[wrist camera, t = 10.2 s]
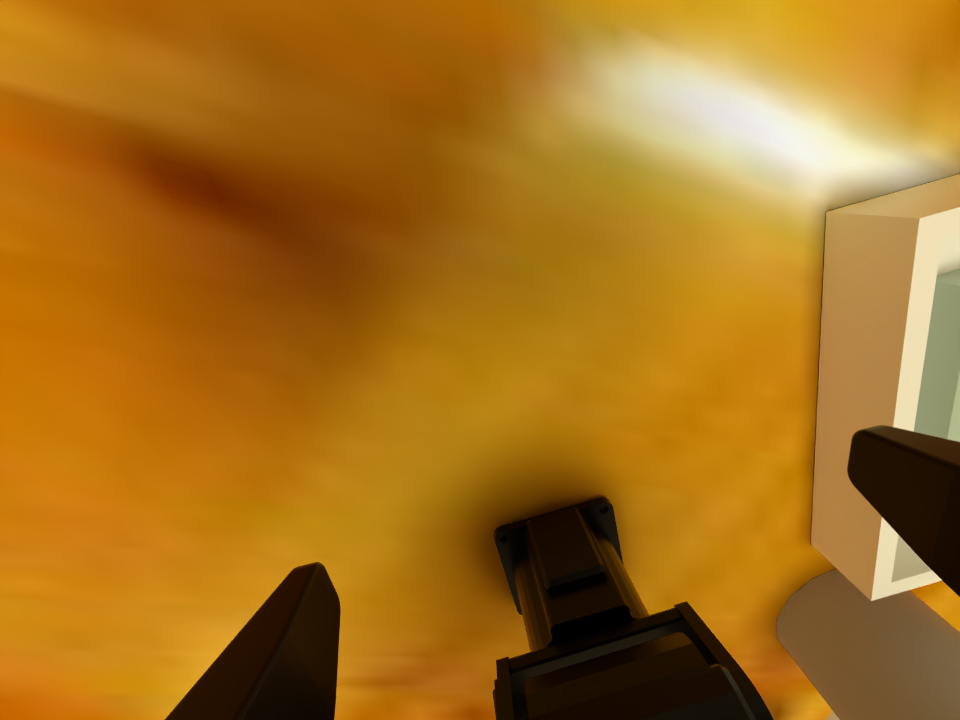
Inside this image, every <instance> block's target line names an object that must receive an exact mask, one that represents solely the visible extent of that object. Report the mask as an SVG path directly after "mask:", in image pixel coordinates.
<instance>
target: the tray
mask: <svg viewBox="0 0 960 720" xmlns="http://www.w3.org/2000/svg"><path fill="white" fill-rule="evenodd" d="M878 425H886V426H891V427H895V428H900V429H904V430H909V431H913V432H918V433H922V434H927V435H931V436H936V437H940V438H945V439H949V440H954V441H958V442H960V174H958V175H954V176H950V177H947V178H943V179H940V180H936V181H933V182H929V183H926V184H922V185H919V186H915V187H912V188H908V189H905V190H901V191H898V192H894V193H891V194H887V195H884V196H880V197H877V198H873V199H870V200H866V201H863V202H859V203H856V204H852V205H849V206H845V207H842V208H838V209H835V210H831V211H827V212H826V230H825V251H824V272H823V294H822V315H821V337H820V358H819V380H818V401H817V422H816V444H815V465H814V487H813V508H812V530H811V545H812V546H813V547H814V548H815V549H816V550H817V551H818V552H819V553H821V554H822V555H823V556H824V557H825V558H826V559H827V560H828V561H829V562H830V563H831V564H832V565H833V566H834V567H835V568H837V569H838V570H839V571H840V572H841V573H842V574H843V575H844V576H845V577H846V578H847V579H848V580H849V581H850V582H851V583H853V584H854V585H855V586H856V587H857V588H858V589H859V590H860V591H861V592H862V593H863V594H864V595H865V596H866V597H867V598H868V599H870V600H871V601H873V600H877V599H880V598H883V597H887V596H890V595H894V594H897V593H901V592H904V591H907V590H911V589H914V588H918V587H921V586H925V585H928V584H931V583H935V582H938V581H942V580H941V579H940V578H939V577H938V576H937V575H936V574H935V573H934V572H933V571H932V570H931V569H930V568H929V567H928V566H927V565H926V564H925V563H924V562H923V561H922V560H921V559H920V558H919V557H918V555H917V554H916V553H915V552H914V551H913V550H912V549H911V548H910V547H909V546H908V545H907V544H906V542H905V541H904V540H903V539H902V538H901V537H900V536H899V535H898V534H897V533H896V532H895V530H894V529H893V528H892V527H891V526H890V525H889V524H888V523H887V522H886V521H885V520H884V518H883V517H882V516H881V515H880V514H879V513H878V512H877V511H876V510H875V509H874V507H873V506H872V505H871V504H870V503H869V502H868V501H867V500H866V499H865V498H864V497H863V495H862V494H861V493H860V492H859V491H858V490H857V489H856V488H855V487H854V485H853V484H852V483H851V481H850V479H849V477H848V473H847V466H848V459H849V452H850V446H851V439H852V436H853V435H854V433H855V432H856V431H858V430H861V429H865V428H869V427H873V426H878Z"/></svg>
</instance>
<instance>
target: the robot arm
mask: <svg viewBox="0 0 960 720" xmlns="http://www.w3.org/2000/svg"><path fill="white" fill-rule="evenodd" d="M847 473H848V477H849V479H850V481H851V483H852V484H853V485H854V487H855V488H856V489H857V490H858V491H859V492H860V493H861V494H862V495H863V497H864V498H865V499H866V500H867V501H868V502H869V503H870V504H871V505H872V506H873V507H874V509H875V510H876V511H877V512H878V513H879V514H880V515H881V516H882V517H883V518H884V520H885V521H886V522H887V523H888V524H889V525H890V526H891V527H892V528H893V529H894V530H895V532H896V533H897V534H898V535H899V536H900V537H901V538H902V539H903V540H904V541H905V542H906V544H907V545H908V546H909V547H910V548H911V549H912V550H913V551H914V552H915V553H916V554H917V555H918V557H919V558H920V559H921V560H922V561H923V562H924V563H925V564H926V565H927V566H928V567H929V568H930V569H931V570H932V571H933V572H934V573H935V574H936V575H937V576H938V577H939V578H940V579H941V580H942V581H943V582H944V583H946V584H947V585H948V586H949V587H950V588H951V589H952V590H953V591H954V592H955V593H956V594H957V595H958V596H959V597H960V442H958V441H954V440H949V439H945V438H940V437H936V436H931V435H927V434H922V433H918V432H913V431H909V430H904V429H900V428H895V427H891V426H886V425H878V426H873V427H869V428H865V429H861V430H858V431H856V432H855V433H854V435H853V436H852V439H851V446H850V452H849V459H848V466H847ZM603 506H605V507H604V508H603V509H600V508H601V507H603ZM503 535H507V536H505V537H501V536H503ZM494 538H495V543H496V546H497V549H498V552H499V555H500V558H501V561H502V564H503V567H504V570H505V574H506V577H507V580H508V583H509V586H510V589H511V592H512V595H513V598H514V601H515V604H516V607H517V611H518V613H519V614H521V615H523V619H524V623H525V628H526V632H527V637H528V641H529V646H530V650H531V652H530V653H526V654H523V655H520V656H517V657H513V658H510V659H509V657H505V658H502V659H499V660H496V664H497V679H496V680H495V689H494V690H493V698H494V706H495V714H496V720H773V718H772V716H771V714H770V712H769V710H768V708H767V707H766V705H765V703H764V701H763V700H762V698H761V696H760V694H759V693H758V691H757V690H756V688H755V687H754V685H753V684H752V682H751V681H750V679H749V678H748V677H747V675H746V674H745V673H744V671H743V670H742V669H741V667H740V666H739V665H738V664H737V662H736V661H735V660H734V659H733V658H732V656H731V655H730V654H729V653H728V651H727V650H726V649H725V648H724V647H723V645H722V644H721V643H720V642H719V640H718V639H717V638H716V637H715V636H714V634H713V633H712V632H711V631H710V629H709V628H708V627H707V626H706V624H705V623H704V622H703V621H702V620H701V618H700V617H699V616H698V615H697V613H696V612H695V611H694V610H693V609H692V607H691V606H690V605H689V604H688V602H687V601H686V602H683V603H680V604H676V605H674V607H675V608H672V609H668V610H665V611H662V612H659V613H655V614H652V615H649V614H648V612H647V610H646V608H645V606H644V604H643V602H642V601H641V599H640V597H639V595H638V593H637V591H636V589H635V587H634V585H633V583H632V581H631V579H630V577H629V575H628V573H627V571H626V570H625V568H624V566H623V561H622V555H621V550H620V544H619V539H618V533H617V527H616V522H615V516H614V511H613V507H612V505H611V503H610V501H609V500H608V499H607V498H598V499H595V500H591V501H588V502H584V503H581V504H577V505H574V506H570V507H567V508H563V509H560V510H556V511H553V512H550V513H546V514H543V515H539V516H536V517H532V518H529V519H525V520H522V521H518V522H515V523H511V524H508V525H504V526H501V527H499V528H497V529H496V530H495V532H494ZM339 629H340V601H339V597H338V595H337V592H336V590H335V588H334V586H333V584H332V582H331V580H330V577H329V575H328V573H327V571H326V569H325V567H324V565H323V564H322V563H319V562H315V563H311V564H307V565H303V566H298V567H296V568H294V569H293V570H292V571H291V572H290V573H289V574H288V576H287V577H286V578H285V579H284V580H283V581H282V583H281V584H280V585H279V586H278V587H277V588H276V590H275V591H274V592H273V593H272V594H271V595H270V597H269V598H268V599H267V600H266V601H265V603H264V604H263V605H262V606H261V607H260V608H259V610H258V611H257V612H256V613H255V614H254V615H253V617H252V618H251V619H250V620H249V621H248V622H247V624H246V625H245V626H244V627H243V628H242V630H241V631H240V632H239V633H238V634H237V635H236V637H235V638H234V639H233V640H232V641H231V642H230V644H229V645H228V646H227V647H226V648H225V649H224V651H223V652H222V653H221V654H220V655H219V657H218V658H217V659H216V660H215V661H214V662H213V664H212V665H211V666H210V667H209V668H208V669H207V671H206V672H205V673H204V674H203V675H202V677H201V678H200V679H199V680H198V681H197V682H196V684H195V685H194V686H193V687H192V688H191V689H190V691H189V692H188V693H187V694H186V695H185V696H184V698H183V699H182V700H181V701H180V702H179V704H178V705H177V706H176V707H175V708H174V709H173V711H172V712H171V713H170V714H169V715H168V716H167V718H166V719H165V720H334V716H335V703H336V686H337V667H338V648H339Z"/></svg>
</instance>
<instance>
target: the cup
mask: <svg viewBox="0 0 960 720" xmlns="http://www.w3.org/2000/svg"><path fill="white" fill-rule="evenodd" d="M776 637H777V639H778V640H779V641H780V642H781V644H782V645H783V646H784V648H785V649H786V650H787V652H788V653H789V654H790V655H791V657H792V658H793V659H794V661H795V662H796V663H797V665H798V666H799V667H800V668H801V670H802V671H803V672H804V674H805V675H806V676H807V678H808V679H809V680H810V681H811V683H812V684H813V685H814V687H815V688H816V689H817V691H818V692H819V693H820V694H821V696H822V697H823V698H824V700H825V701H826V702H827V703H828V705H829V706H830V707H831V709H832V710H833V711H834V713H835V714H836V715H837V716H838V718H839V719H840V720H960V632H959V631H957V630H956V629H955V628H954V627H953V626H951V625H950V624H949V623H948V622H947V621H946V620H944V619H943V618H942V617H941V616H940V615H938V614H937V613H936V612H935V611H934V610H933V609H931V608H930V607H929V606H928V605H927V604H925V603H924V602H923V601H922V600H921V599H919V598H918V597H917V596H916V595H915V594H914V593H912V592H911V591H910V590H907V591H904V592H901V593H897V594H894V595H890V596H887V597H883V598H880V599H877V600H873V601H871V600H870V599H868V598H867V597H866V596H865V595H864V594H863V593H862V592H861V591H860V590H859V589H858V588H857V587H856V586H855V585H854V584H853V583H851V582H850V581H849V580H848V579H847V578H846V577H845V576H844V575H843V574H842V573H841V572H840V571H839V570H838V569H837V568H836V569H833V570H831V571H829V572H826V573H824V574H822V575H820V576H817V577H815V578H813V579H811V580H810V581H809V582H808V583H806V584H805V585H804V586H803V587H802V588H800V589H799V590H798V591H797V592H796V593H794V594H793V595H792V596H791V597H790V598H789V599H788V601H787V602H786V604H785V606H784V607H783V609H782V611H781V612H780V614H779V616H778V617H777V630H776Z"/></svg>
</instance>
